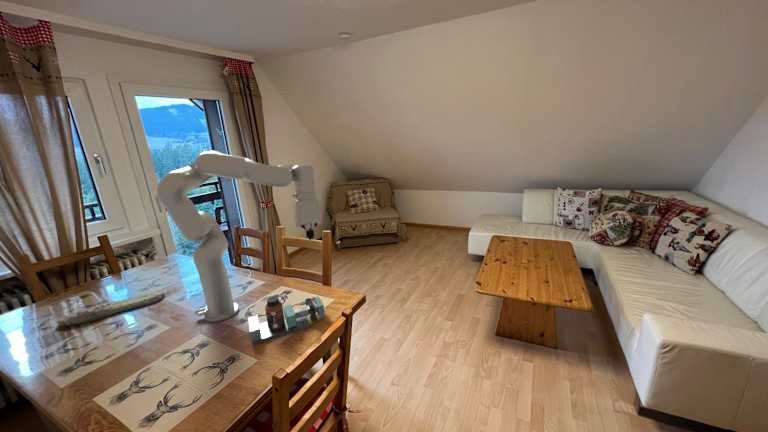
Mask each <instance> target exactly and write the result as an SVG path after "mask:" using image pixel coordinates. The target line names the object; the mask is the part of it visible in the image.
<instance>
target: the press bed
mask: <svg viewBox="0 0 768 432" xmlns="http://www.w3.org/2000/svg"><path fill="white" fill-rule="evenodd" d="M304 300H305V307H306V306H308V308H309V313H310V315H309V319H310V321H311V323H312V322H316V321H318V320H317V313H316V310H315V306H314V304H315V303H313V301H312V298H310V297H308V298H305V299H304ZM284 321H285V324H284V326H283V327H281V328H280V329H277V330H271V329H269V327H268V323H267V321H264V322H260V323H259V318H258V315H254V316H250V317H248V327H249V334H250V340H251V345H252V347H253V346H256V345H260V344H263V343H266V342H269V341H271V340H275V339H279V338H281V337H285V336H287V335H291V334H293V333H294V334H295V333H298V332H300V331H304V330H306V329H310V328H311V326H310V325H311V324H310V322H309V320H308V318H307V316H303V317H300V318H297V319H296V325H297V326H294V327H291V328H288V326H287V322H286V319H285V315H284Z"/></svg>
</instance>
